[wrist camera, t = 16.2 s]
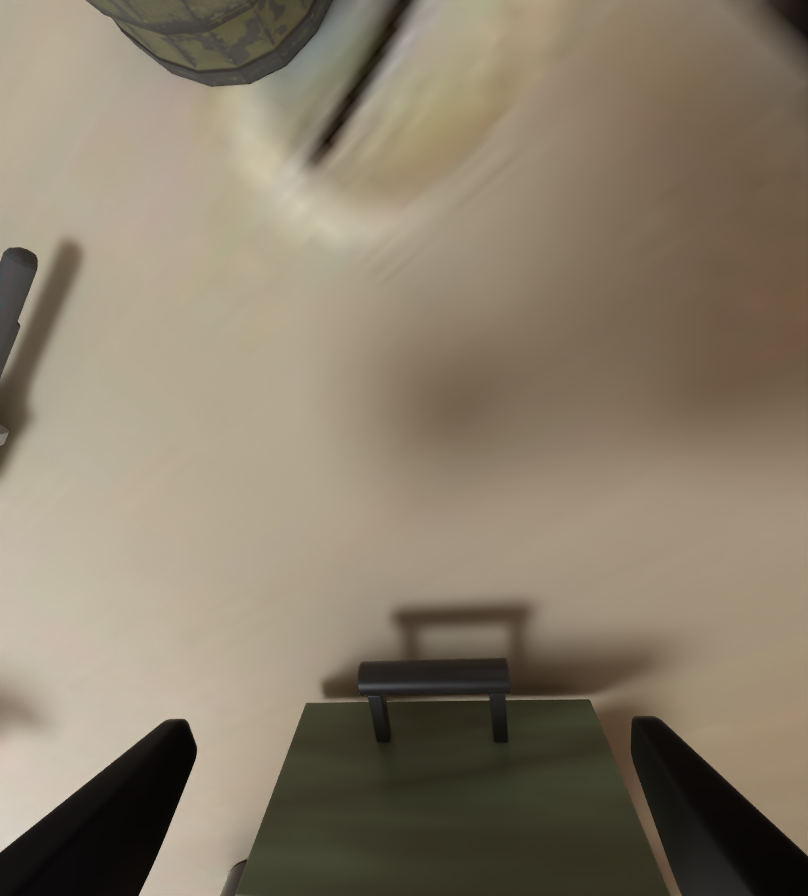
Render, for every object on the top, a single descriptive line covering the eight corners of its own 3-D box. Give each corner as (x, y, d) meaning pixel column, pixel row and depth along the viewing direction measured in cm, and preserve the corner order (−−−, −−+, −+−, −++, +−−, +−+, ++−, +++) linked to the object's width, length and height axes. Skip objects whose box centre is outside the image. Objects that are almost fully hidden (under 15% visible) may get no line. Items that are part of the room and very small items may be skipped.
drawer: (290, 638, 18) (201, 812, 11) (590, 628, 16) (691, 825, 10) (356, 902, 23) (322, 1128, 16) (589, 916, 21) (656, 1174, 15)
